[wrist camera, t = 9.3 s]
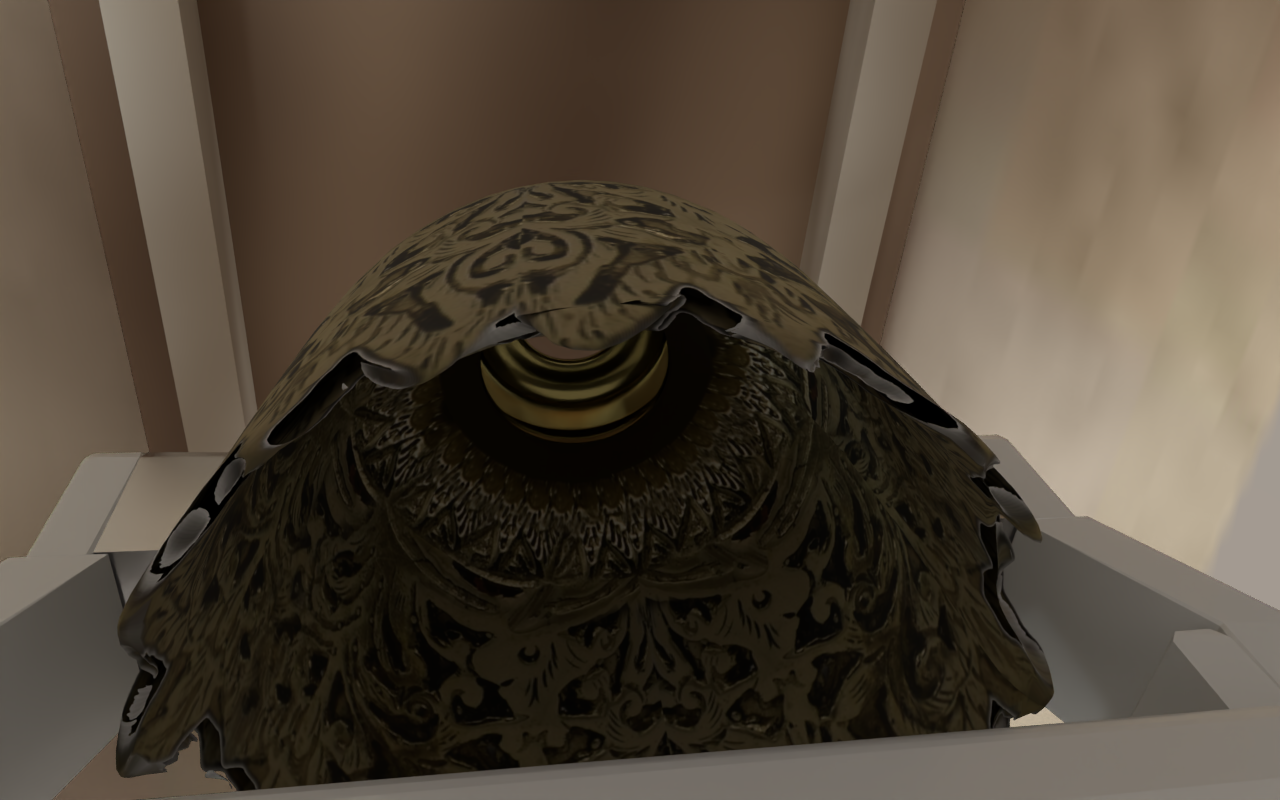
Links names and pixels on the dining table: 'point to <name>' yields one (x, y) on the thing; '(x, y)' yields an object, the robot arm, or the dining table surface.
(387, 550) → the cup
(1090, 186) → the dining table surface
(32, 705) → the robot arm
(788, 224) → the plate
